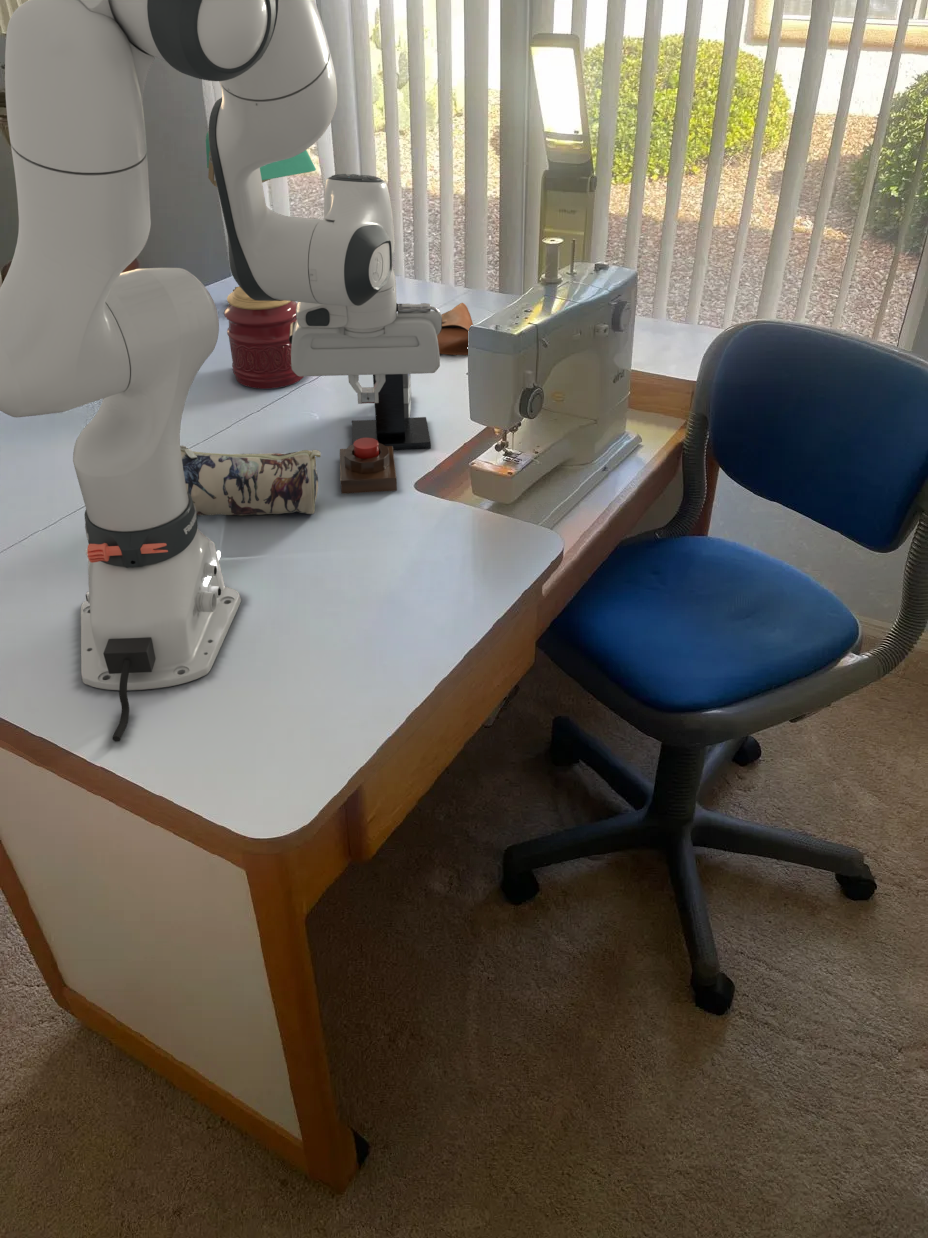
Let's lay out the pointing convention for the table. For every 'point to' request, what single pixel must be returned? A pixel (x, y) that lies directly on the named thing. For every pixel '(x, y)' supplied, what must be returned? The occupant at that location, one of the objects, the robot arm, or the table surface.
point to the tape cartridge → (407, 394)
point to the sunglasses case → (455, 331)
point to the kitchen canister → (260, 340)
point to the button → (366, 448)
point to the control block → (367, 471)
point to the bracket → (393, 420)
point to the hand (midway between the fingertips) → (368, 401)
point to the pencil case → (251, 482)
